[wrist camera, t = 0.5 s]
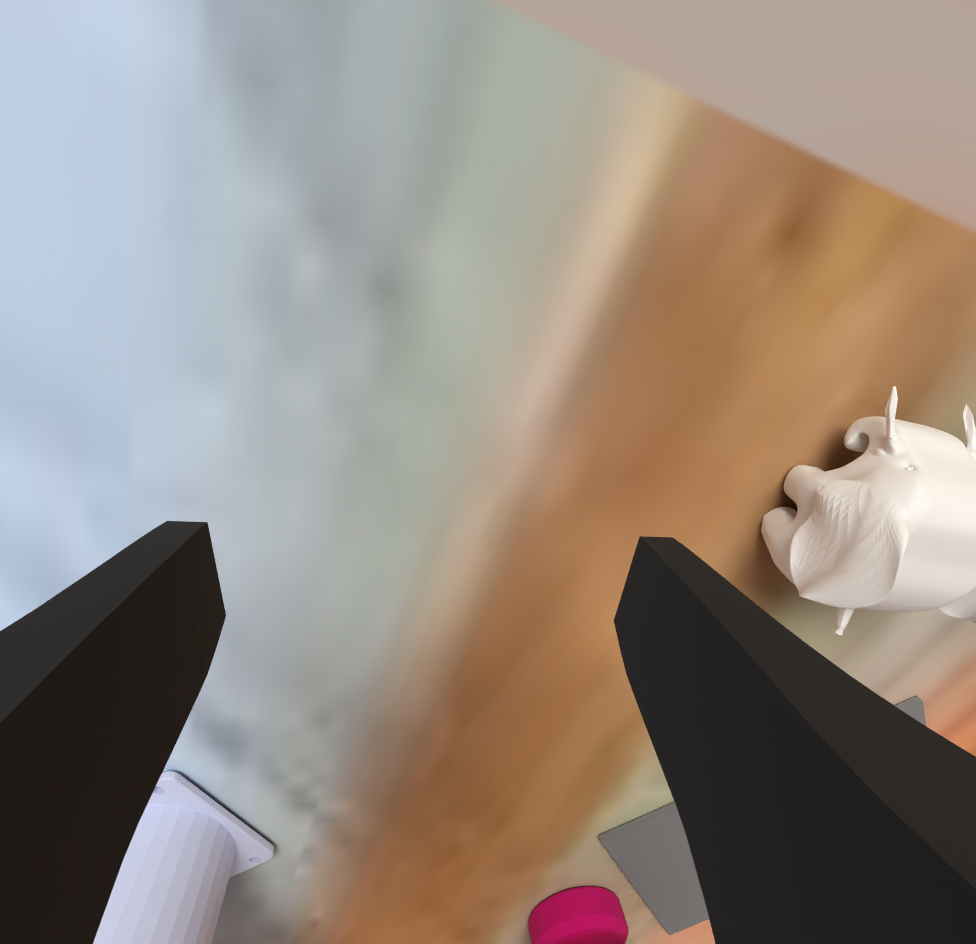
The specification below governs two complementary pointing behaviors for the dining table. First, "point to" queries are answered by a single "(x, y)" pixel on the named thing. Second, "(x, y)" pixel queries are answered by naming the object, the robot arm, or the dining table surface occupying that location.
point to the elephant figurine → (884, 522)
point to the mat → (674, 858)
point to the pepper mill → (579, 918)
